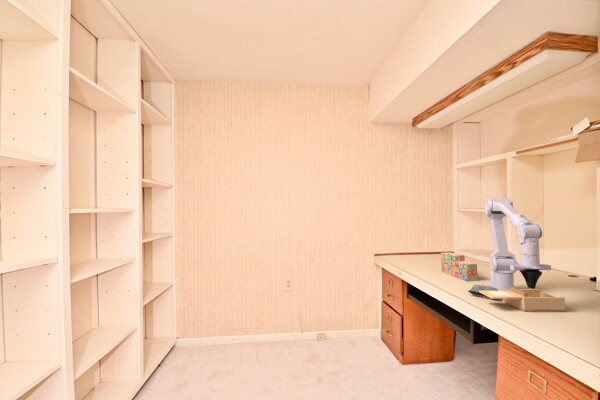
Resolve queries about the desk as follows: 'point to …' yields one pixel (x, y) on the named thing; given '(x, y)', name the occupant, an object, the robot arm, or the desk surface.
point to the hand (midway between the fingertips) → (531, 288)
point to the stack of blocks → (458, 266)
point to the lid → (505, 294)
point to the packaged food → (477, 288)
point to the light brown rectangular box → (538, 302)
